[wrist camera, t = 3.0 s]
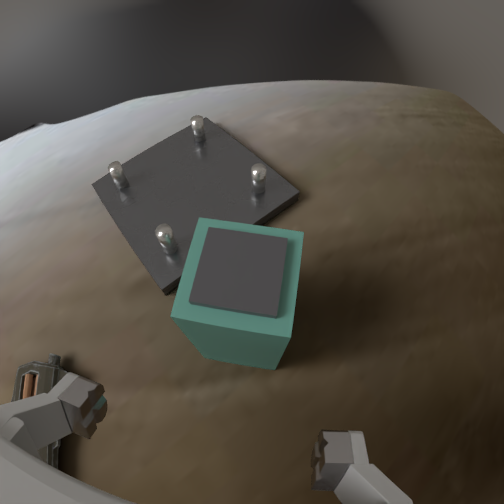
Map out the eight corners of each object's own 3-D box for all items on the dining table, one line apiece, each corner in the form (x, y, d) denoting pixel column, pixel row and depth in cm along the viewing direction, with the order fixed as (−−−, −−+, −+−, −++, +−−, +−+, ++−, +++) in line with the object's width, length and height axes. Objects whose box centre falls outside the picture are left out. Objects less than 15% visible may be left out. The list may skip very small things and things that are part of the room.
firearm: (-38, 534, 8) (74, 611, 7) (-36, 332, 20) (64, 351, 18) (-11, 533, 12) (100, 597, 10) (-9, 346, 23) (95, 365, 22)
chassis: (207, 125, 33) (203, 99, 30) (297, 200, 28) (302, 172, 25) (96, 191, 29) (82, 167, 26) (165, 295, 24) (152, 275, 21)
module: (218, 293, 24) (197, 212, 15) (284, 304, 24) (304, 227, 14) (204, 357, 22) (168, 313, 12) (274, 370, 21) (291, 335, 12)
